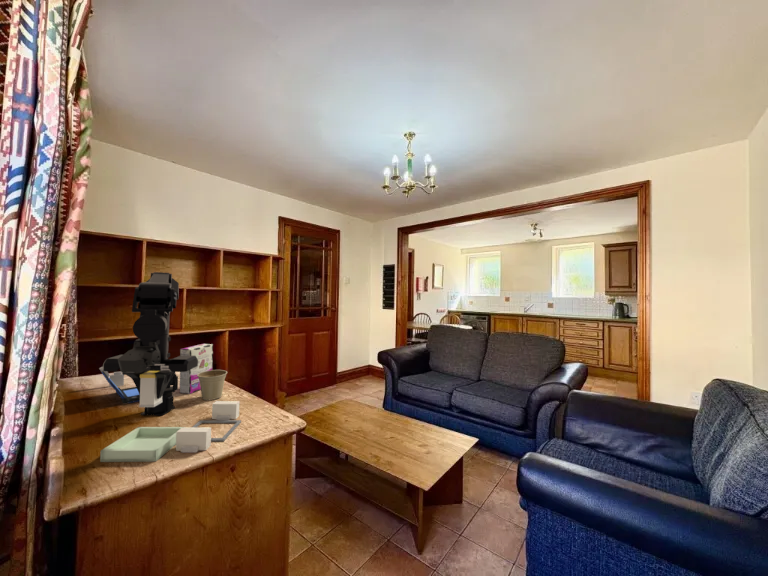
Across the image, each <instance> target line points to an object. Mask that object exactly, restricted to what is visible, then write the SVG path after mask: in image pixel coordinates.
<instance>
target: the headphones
mask: <svg viewBox="0 0 768 576" xmlns="http://www.w3.org/2000/svg"><path fill="white" fill-rule="evenodd" d="M240 402H241V401H240V400H237V401H236V400H230V401H229V400H215V402H213V403H211V404H212V405H211V419H201V420H199V421H198V422H196V423H195V424H194V425H193V426H191V427H186V426H181V427H182V428H181V429H179V430H178V431H177V432H176V445H175V452H176V451H178V452H179V451H180V453H198V452H199V451H207V450H208V449H209V448H210V447H211V446H212V444H211V443H212V442H224V441H225V440H227V438H228V437H229V436H230V435H231V434H232V433H233V432H234V430H236V428H237V427H238V426H239V425H240V424H241V423H242V420H240V419H238V417H239V416H240V405H241V404H240ZM201 424H234V425H233V426H232V427H230V428H229V430H228V431H227V432H226V433H225V434H224V435H223V436H222V437H212V427H205V426H204V427H203V426H202V427H199V426H200V425H201Z"/></svg>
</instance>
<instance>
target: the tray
mask: <svg viewBox="0 0 768 576" xmlns="http://www.w3.org/2000/svg"><path fill="white" fill-rule="evenodd" d="M182 427H183V426H137V427H136V428H134V429H133V430H132V431H129V432H128V433H127V434H125V435H124V436H122V437H120V438H118V439H117V440H115V441H114V442H112V443H111V444H109V445H108V446H106V447H104V448H102V449H101V450H100V457H99V458H100V459H99V462H100V463H120V462H121V463H122V462H123V463H128V462H129V463H131V462H132V463H134V462H135V463H136V462H137V463H138V462H139V463H141V462H145V463H146V462H147V463H148V462H155V463H156V462H157V461H158V460H160V458H162V457H163V456H164V455H165V454H166V453H168V452H170V450H171V449H172V448H174V447H176V432H177V431H178V430H179V429H181V428H182Z"/></svg>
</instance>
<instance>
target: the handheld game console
mask: <svg viewBox="0 0 768 576" xmlns="http://www.w3.org/2000/svg"><path fill="white" fill-rule="evenodd" d="M101 374H102V375H103V377H104V379H106V381H107V383H108V385H109V384H110V385H111V386H112V387H111V388H112V389H113V390H114V391H115V393H116V395H117V396H118V397H119V398H120V401H121V402H122V404H123V405H126V404H131V403H137V402H140V394H139V392H138V390H137V387H136V386H133V387H126V388H120V387H118V386H116V385H115V384H114V383H113V382H112V381H111V379H110V376H109V377H108V376H107V375H106V374H105V373H104V371H102V372H101Z"/></svg>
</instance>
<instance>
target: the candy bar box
mask: <svg viewBox="0 0 768 576" xmlns="http://www.w3.org/2000/svg"><path fill="white" fill-rule="evenodd" d="M213 349H214V344H213V343H211V344H210V343H201V344H197V345H192V346H191V345H190V346H188V347H184V348H180V349H179V354H180V355H179V356H181V355H188V356H196V357H197V359H198V366H197V367H195V368H193V369H191V370H189V371H186V372H179V393H180V394H188V395H190V394H193V393H196V392H199V391H201V386H200V381H199V378H198V376H197V374H199V373H201V372H204V371H210V370H213V357H214V356H213V355H214V351H213Z"/></svg>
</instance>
